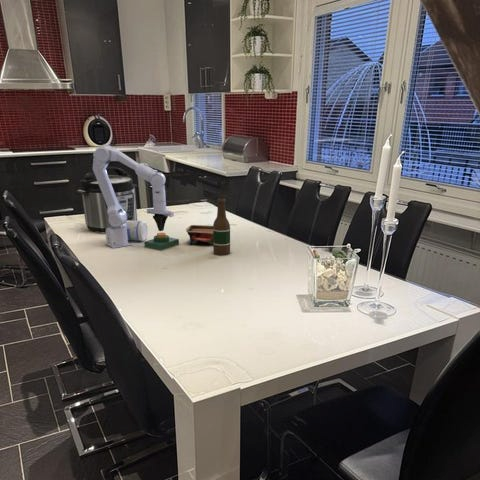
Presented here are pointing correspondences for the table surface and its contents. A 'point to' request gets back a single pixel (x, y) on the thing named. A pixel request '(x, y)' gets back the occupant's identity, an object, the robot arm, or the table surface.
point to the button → (161, 235)
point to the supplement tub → (136, 230)
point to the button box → (161, 243)
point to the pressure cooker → (96, 203)
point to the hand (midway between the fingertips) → (161, 230)
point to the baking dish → (200, 233)
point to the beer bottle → (221, 230)
